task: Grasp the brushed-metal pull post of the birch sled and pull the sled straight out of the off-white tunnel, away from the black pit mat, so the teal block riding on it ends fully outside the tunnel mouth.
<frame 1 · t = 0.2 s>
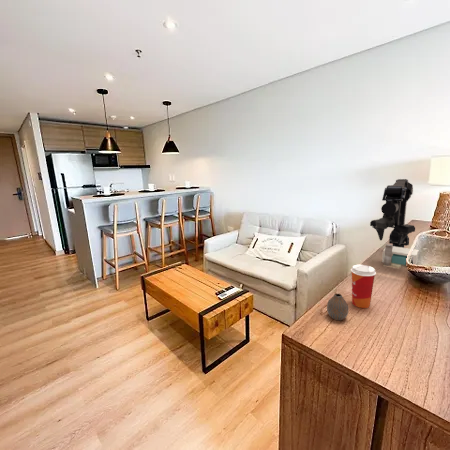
hand: (389, 242, 121), 14 cm above the sideboard, fingers open, 9 cm apart
vase: (337, 317, 87), on the sideboard
sled: (397, 254, 125), point 6 cm above the sideboard, slide at 0.0 cm, touching block
coffee cup: (360, 304, 94), on the sideboard
block: (399, 262, 128), point 1 cm above the sideboard, touching sled
tunnel: (399, 264, 128), on the sideboard
pit mat: (401, 260, 134), on the sideboard
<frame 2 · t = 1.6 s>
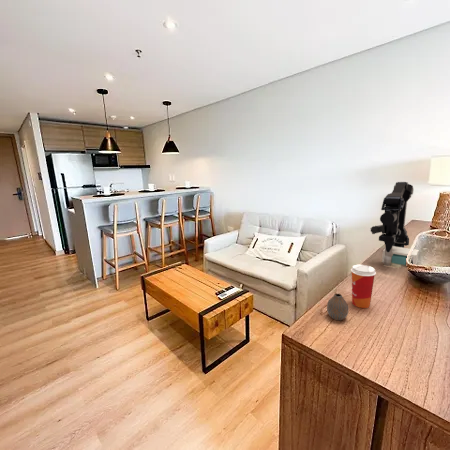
hand: (388, 251, 123), 9 cm above the sideboard, fingers closed on sled, 3 cm apart
sled: (397, 254, 125), point 6 cm above the sideboard, slide at 0.0 cm, touching block, gripper
everything else where it was.
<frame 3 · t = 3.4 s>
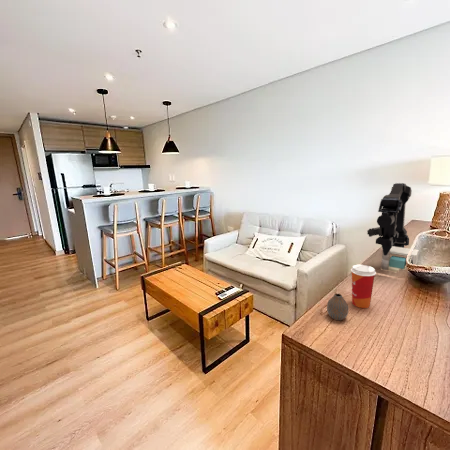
hand: (386, 254, 119), 9 cm above the sideboard, fingers closed on sled, 3 cm apart
sled: (395, 258, 121), point 6 cm above the sideboard, slide at 6.1 cm, touching block, gripper
block: (397, 265, 123), point 1 cm above the sideboard, touching sled
everything else where it was.
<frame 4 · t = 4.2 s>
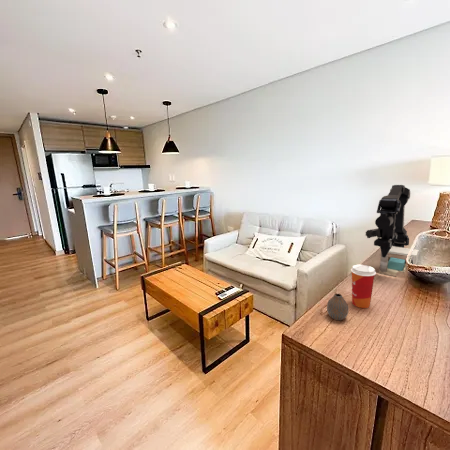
hand: (384, 256, 117), 9 cm above the sideboard, fingers closed on sled, 3 cm apart
sled: (394, 260, 119), point 6 cm above the sideboard, slide at 9.4 cm, touching block, gripper
block: (396, 267, 121), point 1 cm above the sideboard, touching sled
everything else where it was.
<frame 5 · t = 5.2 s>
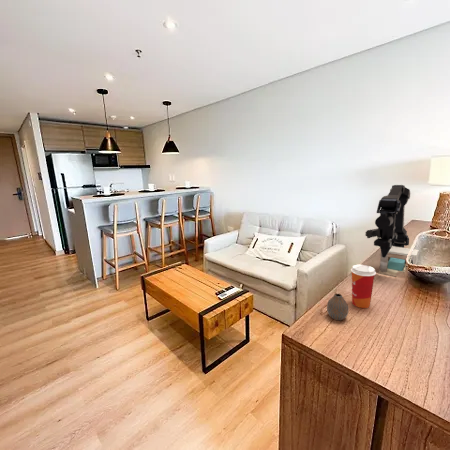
hand: (384, 256, 117), 9 cm above the sideboard, fingers closed on sled, 3 cm apart
sled: (394, 260, 118), point 6 cm above the sideboard, slide at 9.5 cm, touching block, gripper
everything else where it was.
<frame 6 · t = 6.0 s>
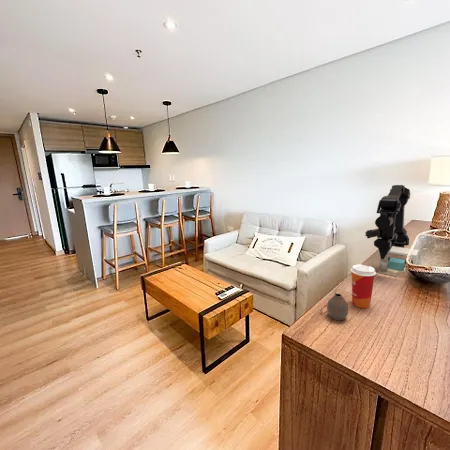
hand: (384, 256, 117), 9 cm above the sideboard, fingers open, 9 cm apart
sled: (394, 260, 118), point 6 cm above the sideboard, slide at 9.5 cm, touching block
everything else where it was.
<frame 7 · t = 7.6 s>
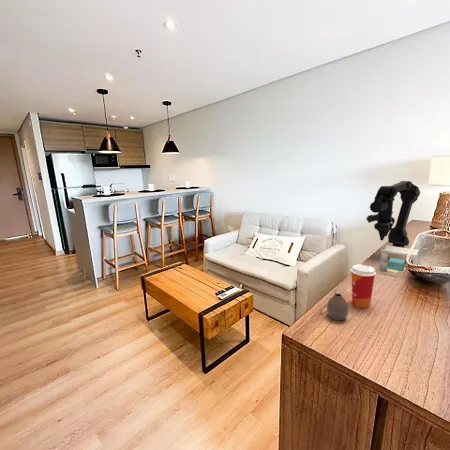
hand: (383, 238, 132), 13 cm above the sideboard, fingers open, 9 cm apart
nothing on the sideboard moved.
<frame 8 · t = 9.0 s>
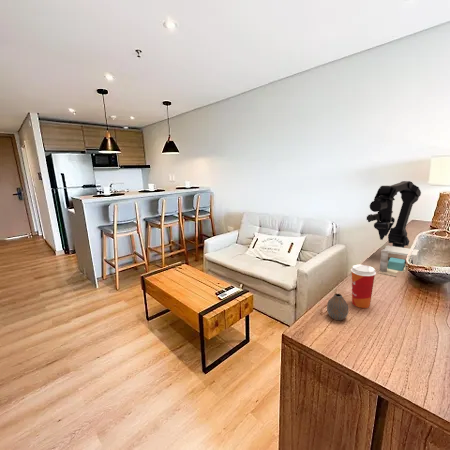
hand: (383, 237, 132), 13 cm above the sideboard, fingers open, 9 cm apart
nothing on the sideboard moved.
at the end: block 1.2 cm from the target spot, point 1.4 cm above the sideboard; sled slide at 9.5 cm; block tilted 0° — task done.
